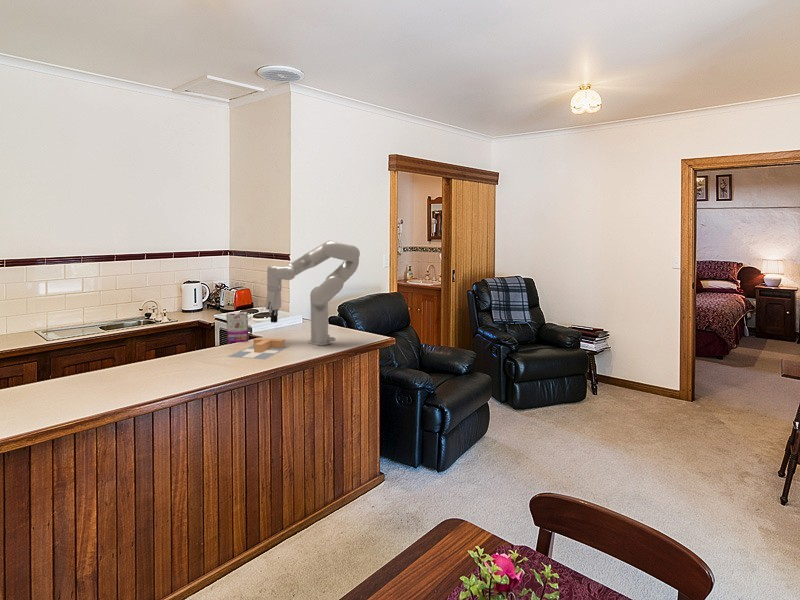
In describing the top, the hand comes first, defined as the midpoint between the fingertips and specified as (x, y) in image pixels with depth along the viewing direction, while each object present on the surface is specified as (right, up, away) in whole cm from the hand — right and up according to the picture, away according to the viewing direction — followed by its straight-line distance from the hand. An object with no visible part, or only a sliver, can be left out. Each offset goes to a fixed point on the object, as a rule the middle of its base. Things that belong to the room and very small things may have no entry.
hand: (274, 322), depth 282 cm
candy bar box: (-22, -12, +7) cm, 26 cm away
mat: (-3, -15, -16) cm, 22 cm away
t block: (-2, -14, -11) cm, 18 cm away
